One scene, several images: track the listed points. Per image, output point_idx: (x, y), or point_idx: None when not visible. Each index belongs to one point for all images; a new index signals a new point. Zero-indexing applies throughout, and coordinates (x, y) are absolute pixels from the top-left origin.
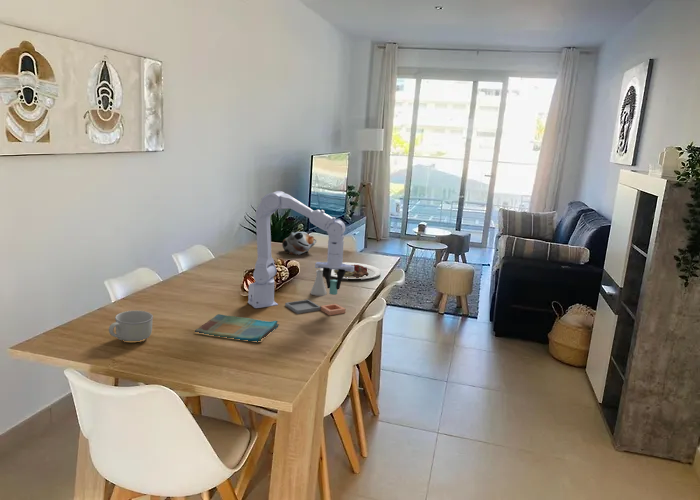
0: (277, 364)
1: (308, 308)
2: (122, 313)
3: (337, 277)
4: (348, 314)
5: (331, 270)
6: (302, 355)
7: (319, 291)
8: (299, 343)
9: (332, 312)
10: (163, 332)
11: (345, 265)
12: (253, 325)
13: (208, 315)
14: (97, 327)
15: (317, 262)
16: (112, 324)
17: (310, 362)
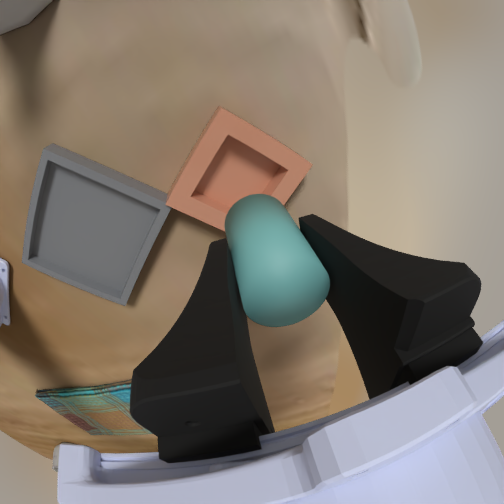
0: (276, 429)
1: (138, 261)
2: (56, 470)
3: (356, 357)
4: (321, 161)
5: (239, 353)
6: (297, 409)
7: (27, 3)
8: (270, 396)
9: None
10: (66, 434)
11: (498, 397)
12: (128, 403)
13: (17, 386)
14: (20, 434)
15: (71, 502)
16: None
17: (318, 410)
